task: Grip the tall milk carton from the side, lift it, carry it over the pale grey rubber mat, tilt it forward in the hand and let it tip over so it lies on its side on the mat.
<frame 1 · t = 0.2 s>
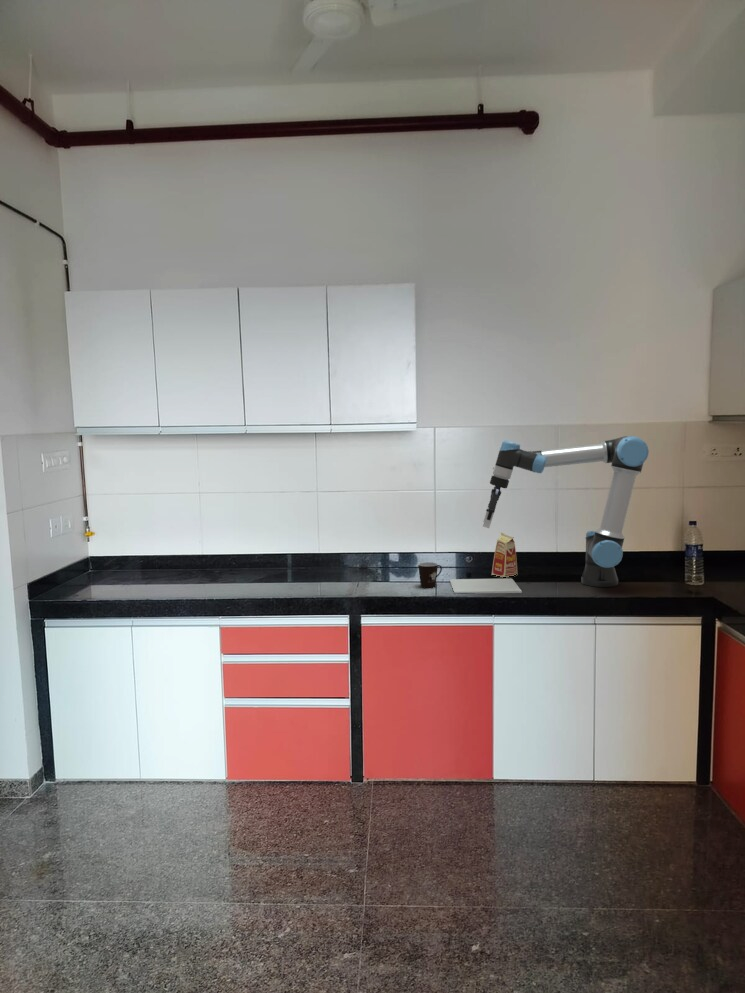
hand: (486, 525, 273), 27 cm above the counter, tool tilted 15°, fingers open, 13 cm apart
milk carton: (505, 575, 300), on the counter
mat: (484, 586, 279), on the counter
coffee mug: (431, 587, 281), on the counter
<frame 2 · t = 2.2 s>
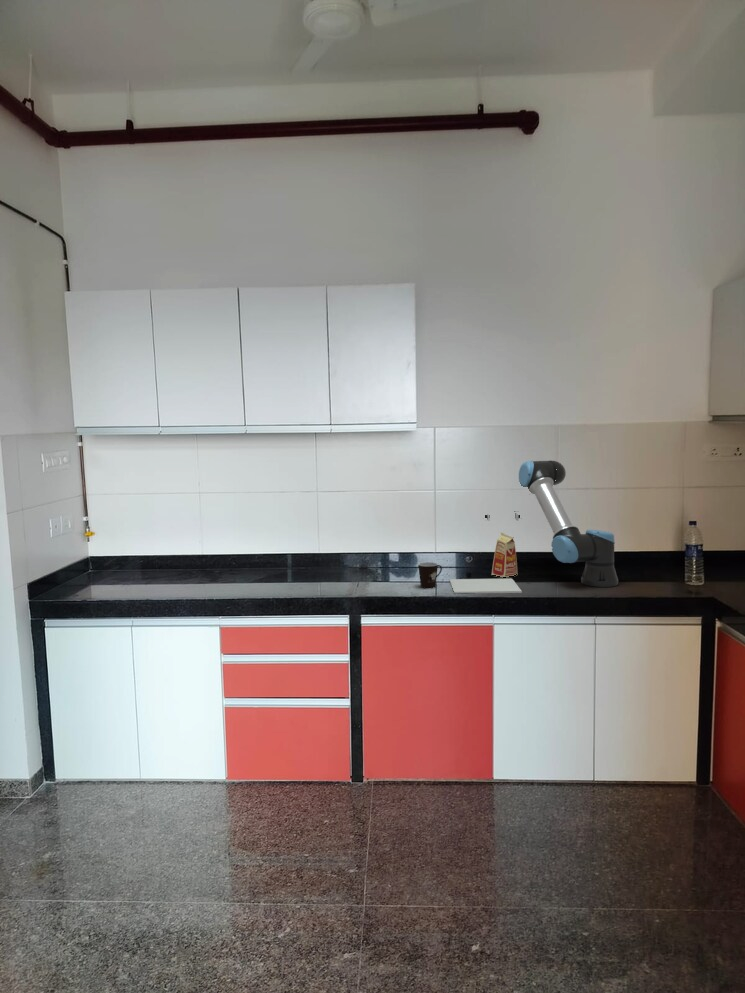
hand: (503, 517, 307), 26 cm above the counter, tool horizontal, fingers open, 13 cm apart
nothing on the counter moved.
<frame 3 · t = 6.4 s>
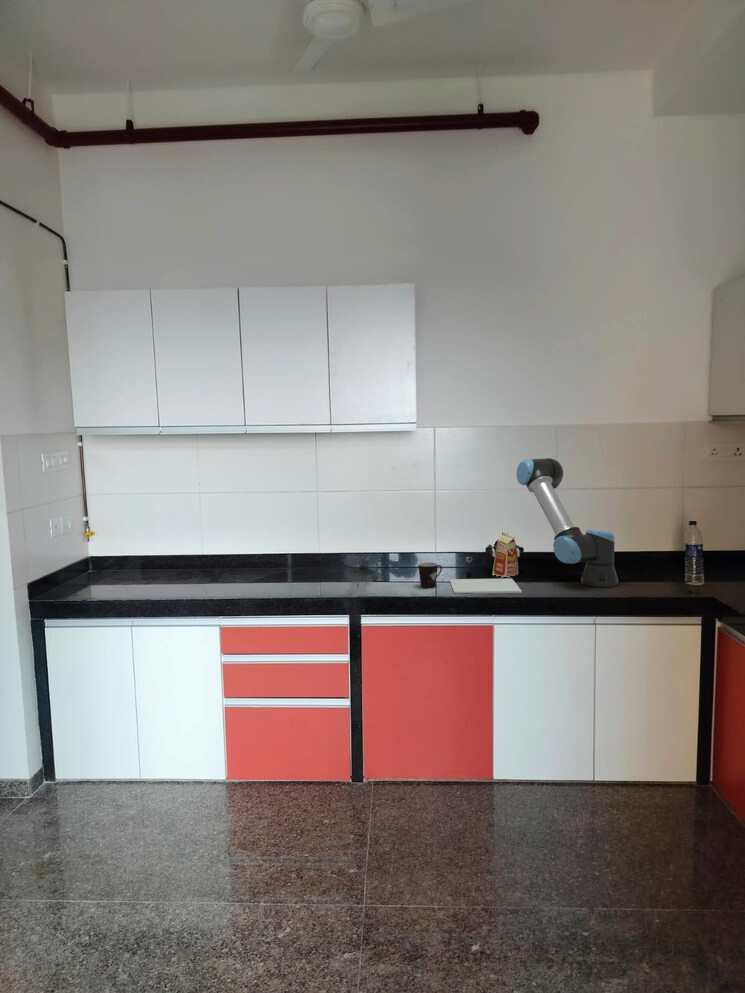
hand: (506, 553, 295), 11 cm above the counter, tool horizontal, fingers closed on milk carton, 10 cm apart
milk carton: (506, 575, 300), on the counter, touching gripper
everything else where it was.
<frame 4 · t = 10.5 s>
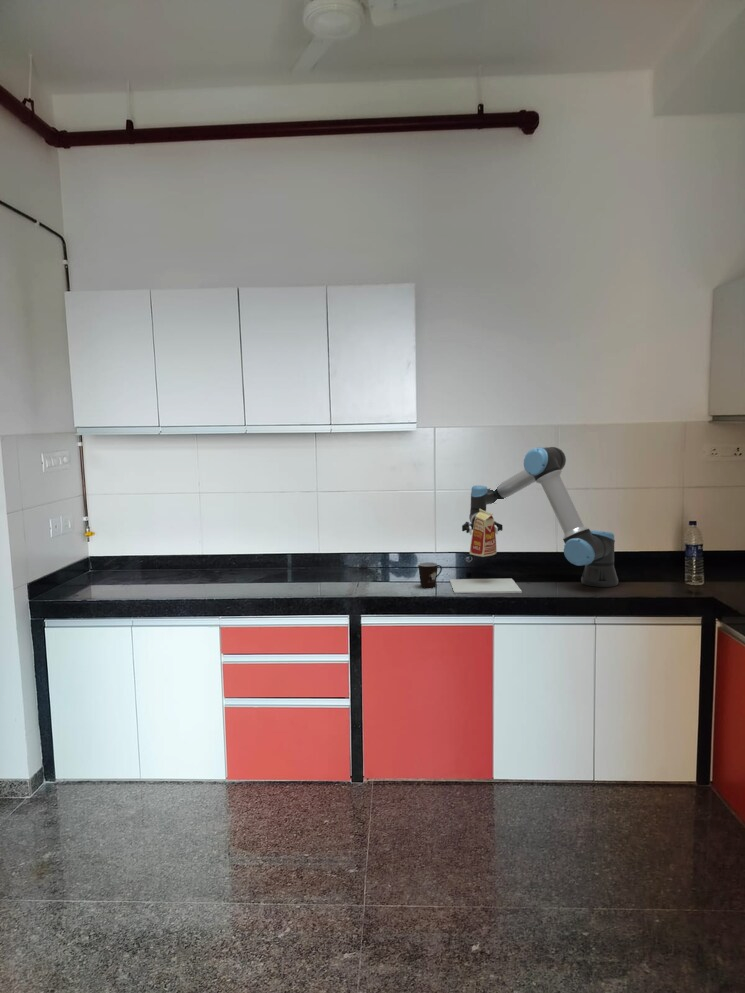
hand: (483, 531, 278), 24 cm above the counter, tool horizontal, fingers closed on milk carton, 10 cm apart
milk carton: (484, 554, 284), point 13 cm above the counter, touching gripper
everything else where it was.
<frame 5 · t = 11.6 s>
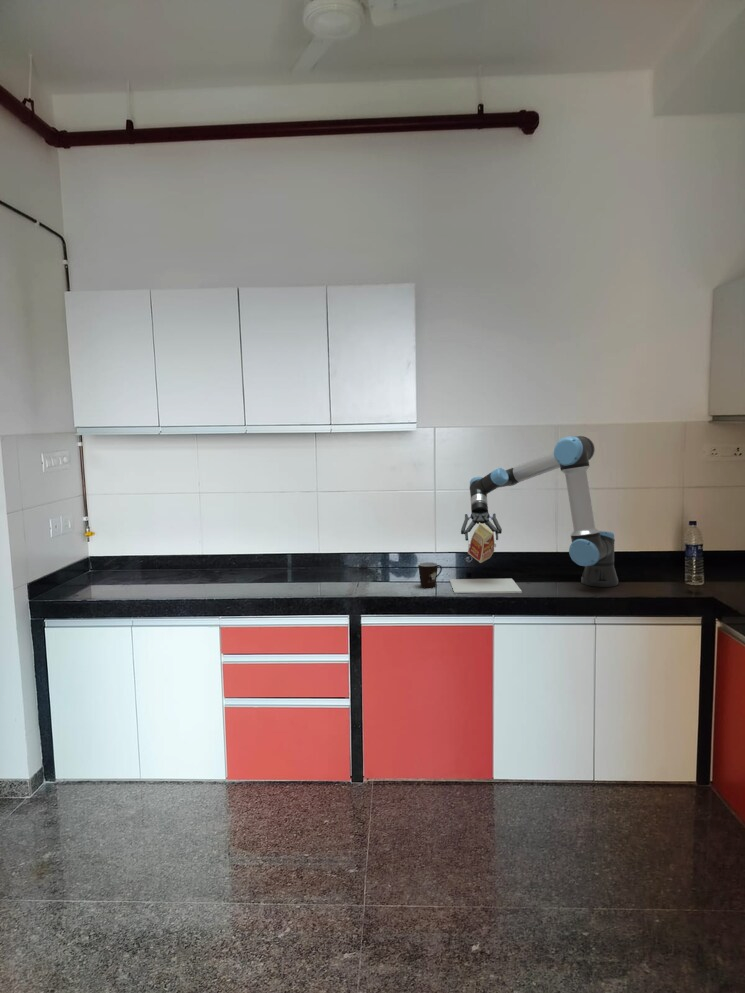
hand: (482, 545, 279), 18 cm above the counter, tool tilted 45°, fingers closed on milk carton, 10 cm apart
milk carton: (481, 553, 290), point 12 cm above the counter, touching gripper
everything else where it was.
when the fingers open (10 cm above the counter, at t = 14.5 s): milk carton moves 6 cm, resting on mat.
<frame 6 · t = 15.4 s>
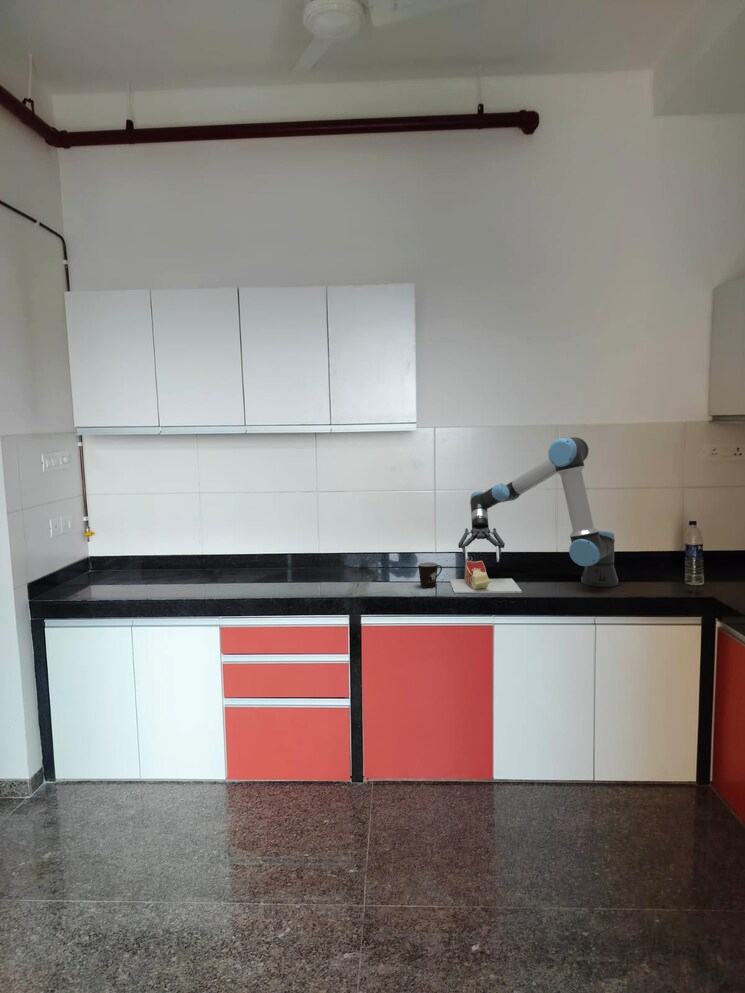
hand: (482, 560, 280), 11 cm above the counter, tool tilted 45°, fingers open, 13 cm apart
milk carton: (474, 570, 286), point 5 cm above the counter, touching mat
everything else where it was.
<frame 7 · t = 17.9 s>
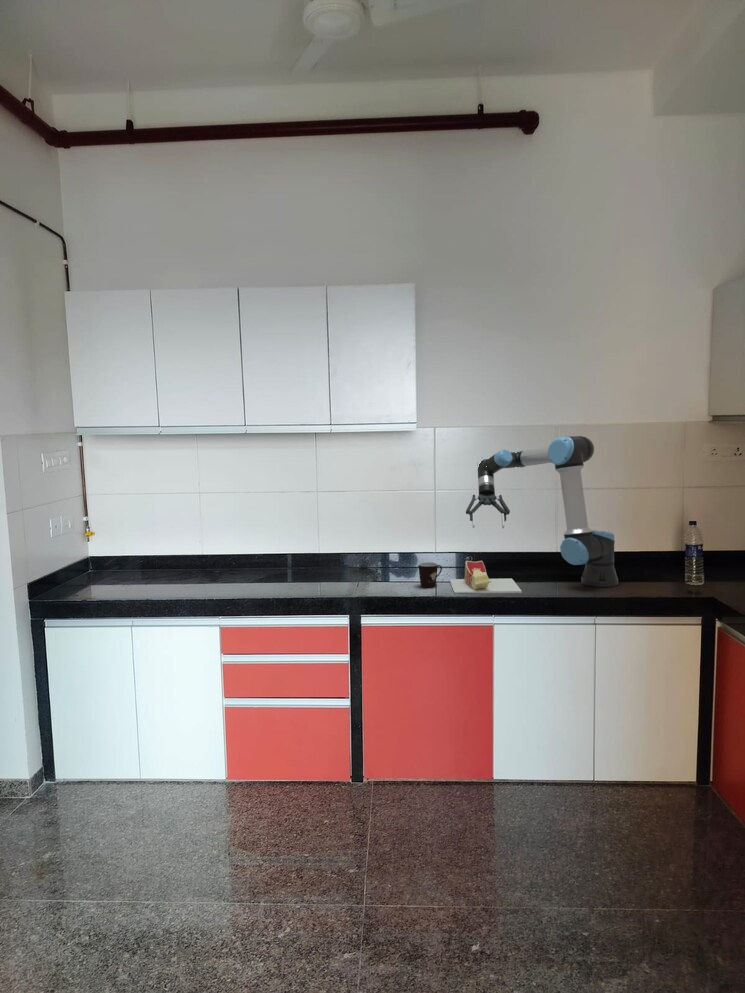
hand: (488, 527, 296), 23 cm above the counter, tool tilted 35°, fingers open, 13 cm apart
nothing on the counter moved.
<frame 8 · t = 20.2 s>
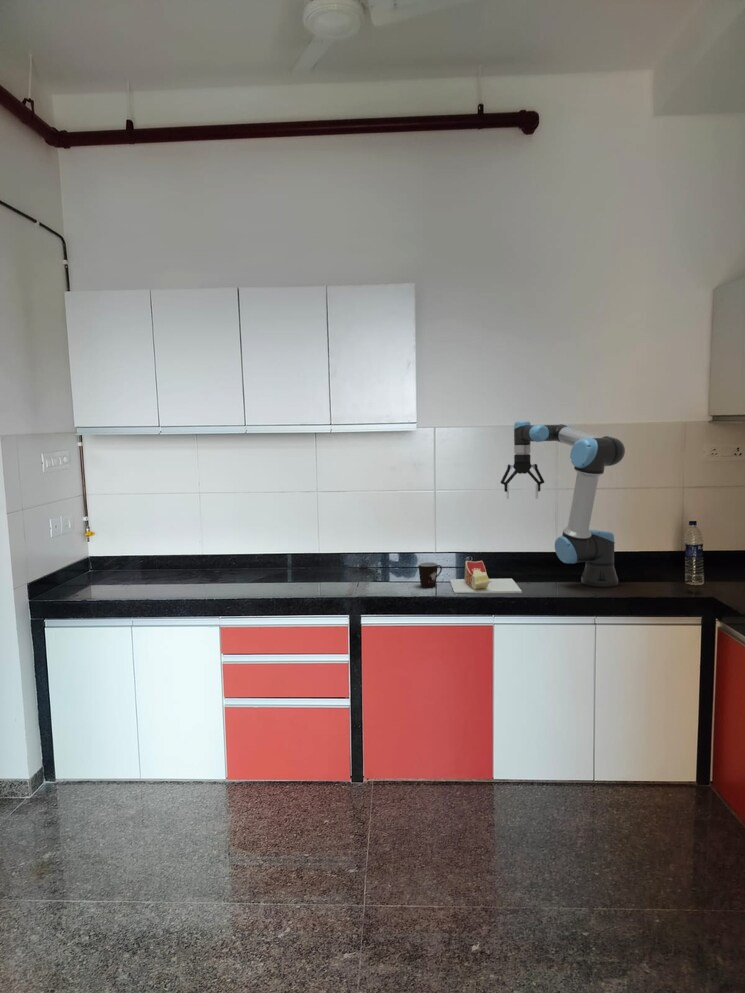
hand: (522, 498, 307), 35 cm above the counter, tool pointing down, fingers open, 13 cm apart
nothing on the counter moved.
at the end: milk carton tilted 94°; milk carton touching mat; milk carton inside the target area on the mat (4.4 cm from its centre), point 5.5 cm above the mat's base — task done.
